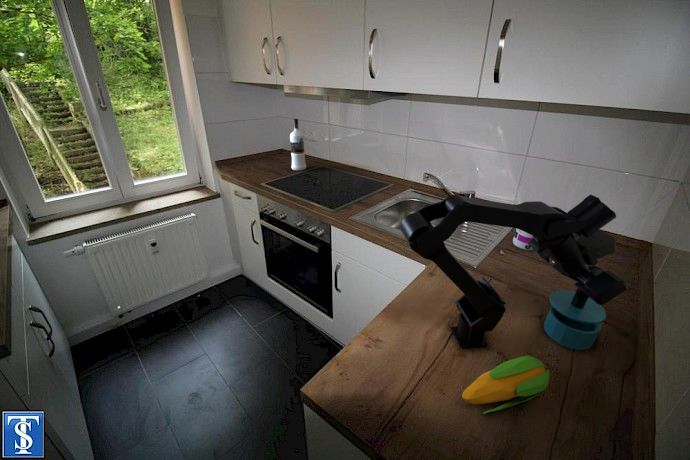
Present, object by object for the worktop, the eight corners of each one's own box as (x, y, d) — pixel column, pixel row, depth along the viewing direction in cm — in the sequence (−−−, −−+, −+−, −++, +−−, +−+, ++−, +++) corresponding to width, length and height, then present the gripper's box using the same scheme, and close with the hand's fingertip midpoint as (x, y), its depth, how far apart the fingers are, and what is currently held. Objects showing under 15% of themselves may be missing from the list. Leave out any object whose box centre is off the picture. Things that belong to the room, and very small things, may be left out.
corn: (566, 368, 59) (482, 402, 53) (556, 396, 63) (475, 431, 56) (533, 341, 66) (454, 369, 60) (525, 368, 69) (449, 397, 63)
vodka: (300, 165, 202) (297, 117, 188) (309, 169, 196) (306, 118, 182) (288, 168, 197) (284, 118, 183) (296, 172, 191) (293, 120, 177)
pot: (603, 348, 73) (612, 331, 71) (562, 351, 72) (570, 334, 70) (571, 317, 82) (578, 301, 80) (534, 320, 81) (541, 303, 79)
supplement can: (542, 250, 112) (556, 212, 105) (521, 252, 111) (533, 214, 104) (527, 239, 119) (538, 203, 112) (507, 241, 118) (518, 204, 111)
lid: (601, 333, 68) (621, 297, 64) (544, 310, 75) (558, 275, 70) (606, 307, 76) (624, 273, 71) (553, 288, 82) (567, 255, 78)
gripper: (641, 246, 56) (665, 291, 62) (565, 204, 72) (590, 244, 79) (584, 284, 59) (613, 324, 65) (523, 236, 75) (551, 271, 81)
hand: (591, 286), depth 72 cm, fingers closed on lid, 3 cm apart
